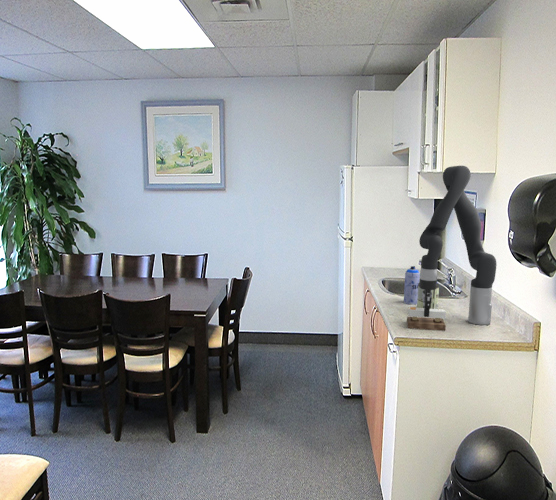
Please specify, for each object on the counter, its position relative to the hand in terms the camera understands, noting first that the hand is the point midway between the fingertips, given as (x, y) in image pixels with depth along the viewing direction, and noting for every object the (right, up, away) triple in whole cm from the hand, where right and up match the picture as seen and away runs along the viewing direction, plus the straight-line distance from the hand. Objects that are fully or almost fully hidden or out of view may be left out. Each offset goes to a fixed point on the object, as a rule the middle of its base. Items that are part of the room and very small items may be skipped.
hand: (425, 314), depth 219 cm
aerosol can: (+5, +1, +41) cm, 41 cm away
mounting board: (0, -5, +1) cm, 5 cm away
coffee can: (+8, -2, +25) cm, 27 cm away
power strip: (0, -2, 0) cm, 3 cm away
